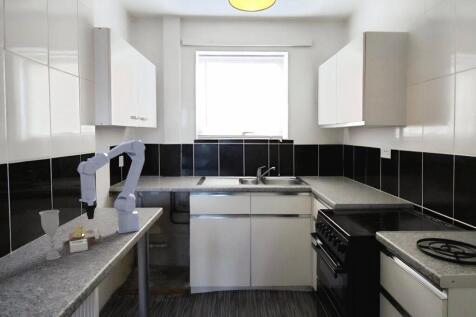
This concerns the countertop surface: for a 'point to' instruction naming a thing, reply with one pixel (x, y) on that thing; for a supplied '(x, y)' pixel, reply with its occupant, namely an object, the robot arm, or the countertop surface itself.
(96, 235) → the bar
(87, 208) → the robot arm
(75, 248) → the white block with hole
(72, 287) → the countertop surface
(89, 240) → the socket block
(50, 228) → the chalice
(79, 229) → the peg
